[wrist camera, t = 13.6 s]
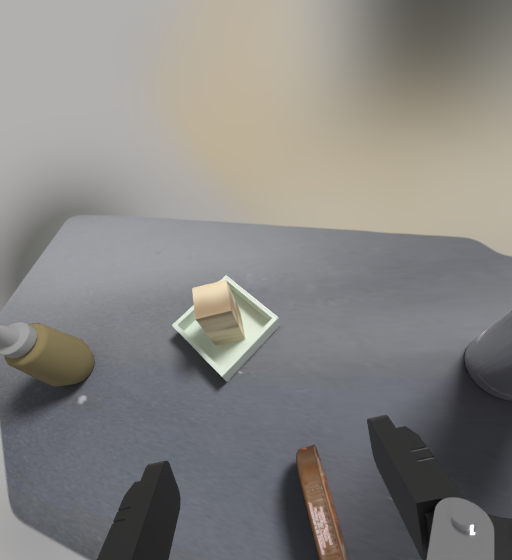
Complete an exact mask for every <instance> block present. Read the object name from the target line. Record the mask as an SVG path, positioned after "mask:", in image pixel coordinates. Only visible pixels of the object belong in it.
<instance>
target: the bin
mask: <svg viewBox="0 0 512 560" xmlns="http://www.w3.org/2000/svg"><path fill="white" fill-rule="evenodd" d="M223 280H226V281H227V283H228V285H229V287H230V290H231V292H232V294H233V297H234V299H235V301H236V303H237V306H238V308H239V310H240V313H241V318H242V323H243V329H244V334H245V339H243V340H239V341H235V342H230V343H226V344H222V345H218V346H216V345H215V344H214V343H213V342H212V340H211V339H210V338H209V336H208V335H207V334H206V333H205V331H204V330H203V329H202V327H201V326H200V325H199V323H198V322H197V321H196V320H195V311H194V305H193V306H192V307H191V308H190V309H189V310H188V311H187V312H186V313H185V314H184V315H182V316H181V317H180V318H179V319H178V320H177V321H176V322H175V323H174V324H173V325H172V326H173V327H174V328H175V329H176V330H177V331H178V332H179V333H180V334H181V335H182V336H183V337H184V338H185V339H186V340H187V341H188V342H189V343H190V344H191V345H192V347H193V348H194V349H195V350H196V351H197V352H198V353H199V354H200V355H201V356H202V357H203V358H204V359H205V360H206V361H207V362H208V363H209V364H210V365H211V366H212V367H213V368H214V369H215V370H216V371H217V372H218V373H219V374H220V375H221V376H222V377H223V378H224V380H225V381H226V382H228V381H229V380H230V379H231V378H232V377H233V376H234V375H235V374H236V372H237V371H238V370H239V369H240V368H241V367H242V366H243V365H244V364H245V363H246V362H247V361H248V360H249V359H250V358H251V357H252V355H253V354H254V353H255V352H256V351H257V350H258V349H259V348H260V347H261V346H262V345H263V344H264V343H265V342H266V341H267V340H268V338H269V337H270V336H271V335H272V334H273V333H274V332H275V331H276V330H277V329H278V328H279V327H280V322H279V318H278V317H277V316H276V315H275V314H274V313H272V312H271V311H270V310H269V309H267V308H266V307H265V306H264V305H262V304H261V303H260V302H259V301H257V300H256V299H255V298H254V297H252V296H251V295H250V294H249V293H248V292H246V291H245V290H244V289H243V288H241V287H240V286H239V285H238V284H236V283H235V282H234V281H233V280H231V279H230V278H229V277H228V276H225V277H223V278H222V279H221V280H220V281H223Z"/></svg>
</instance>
